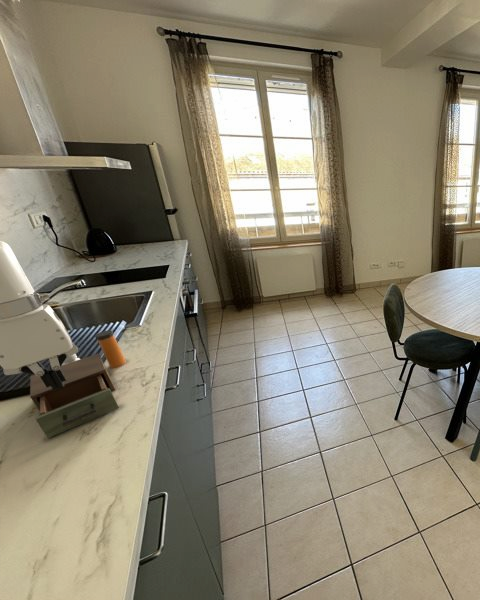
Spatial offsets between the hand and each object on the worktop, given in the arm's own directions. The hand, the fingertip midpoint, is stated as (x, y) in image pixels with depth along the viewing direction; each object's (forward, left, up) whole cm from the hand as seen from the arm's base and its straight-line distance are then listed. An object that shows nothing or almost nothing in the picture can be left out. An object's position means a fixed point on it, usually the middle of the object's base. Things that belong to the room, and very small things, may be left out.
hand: (58, 386), depth 69 cm
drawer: (-13, +5, -16) cm, 21 cm away
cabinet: (-26, +9, -17) cm, 32 cm away
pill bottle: (-38, +14, -17) cm, 44 cm away
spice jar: (-32, +22, -17) cm, 42 cm away
